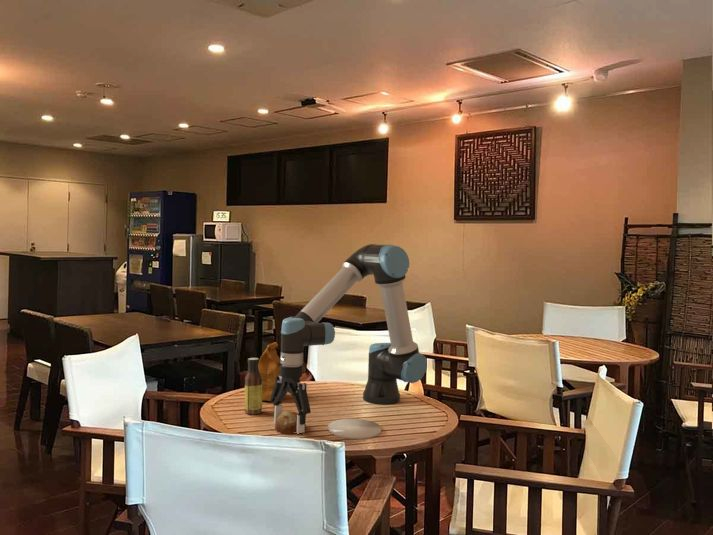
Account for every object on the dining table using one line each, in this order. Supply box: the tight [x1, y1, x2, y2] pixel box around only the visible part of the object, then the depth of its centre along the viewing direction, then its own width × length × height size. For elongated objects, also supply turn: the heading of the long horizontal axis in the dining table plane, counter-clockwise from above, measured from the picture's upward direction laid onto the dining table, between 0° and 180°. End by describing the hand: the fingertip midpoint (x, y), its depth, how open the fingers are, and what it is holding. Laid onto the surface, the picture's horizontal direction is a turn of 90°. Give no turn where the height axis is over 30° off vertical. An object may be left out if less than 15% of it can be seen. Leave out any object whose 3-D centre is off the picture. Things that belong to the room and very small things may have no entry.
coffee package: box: [258, 341, 282, 402], centre depth 237 cm, size 10×12×22 cm
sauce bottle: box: [244, 357, 263, 415], centre depth 218 cm, size 7×6×20 cm
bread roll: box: [274, 410, 306, 434], centre depth 201 cm, size 10×10×8 cm
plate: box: [327, 418, 382, 440], centre depth 203 cm, size 18×18×1 cm
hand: (288, 428), depth 201 cm, fingers open, 12 cm apart
